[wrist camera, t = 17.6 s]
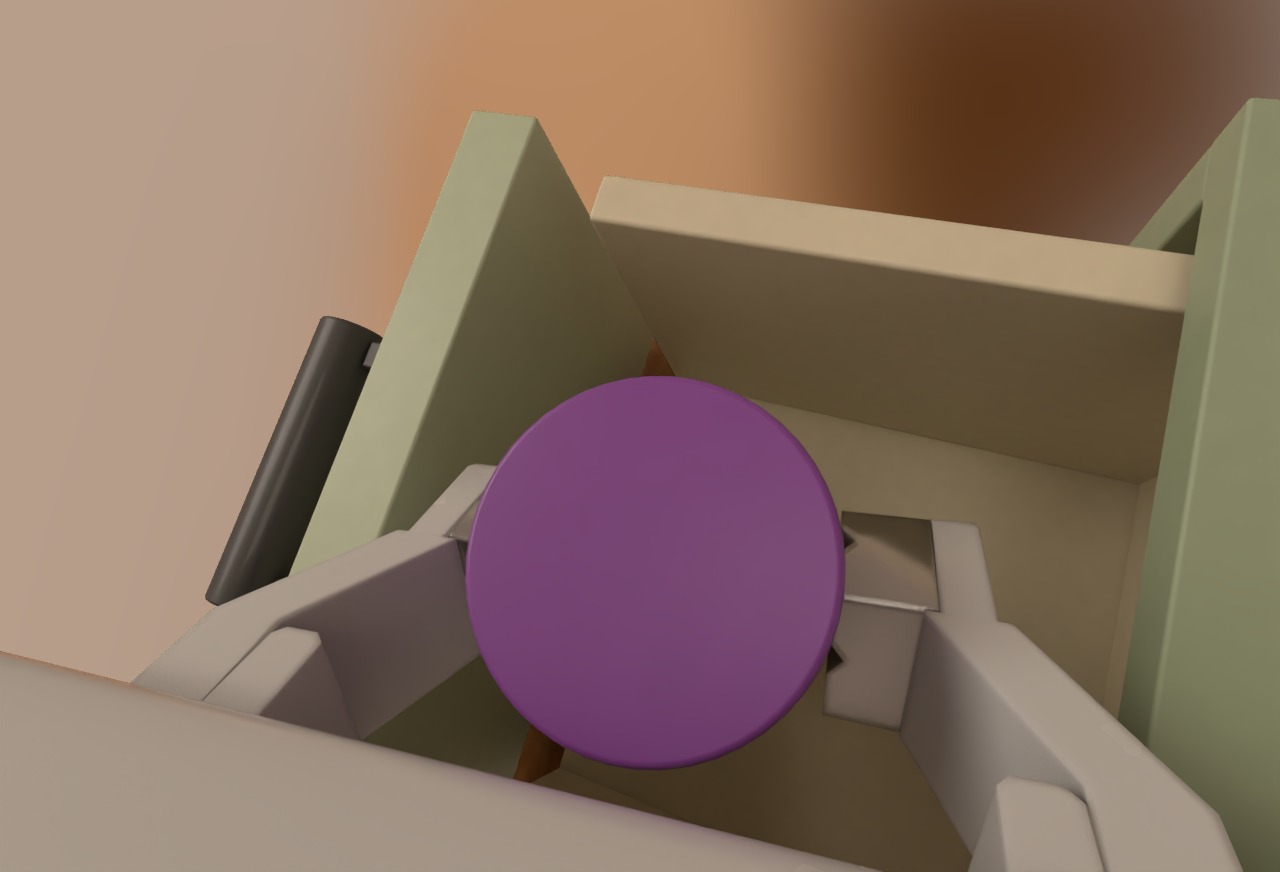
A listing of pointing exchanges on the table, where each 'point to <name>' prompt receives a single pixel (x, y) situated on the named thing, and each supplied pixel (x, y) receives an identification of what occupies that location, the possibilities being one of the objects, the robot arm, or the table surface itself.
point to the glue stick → (655, 573)
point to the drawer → (787, 389)
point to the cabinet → (1219, 499)
